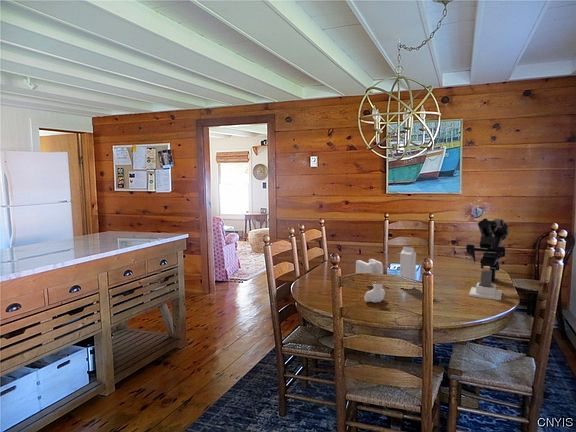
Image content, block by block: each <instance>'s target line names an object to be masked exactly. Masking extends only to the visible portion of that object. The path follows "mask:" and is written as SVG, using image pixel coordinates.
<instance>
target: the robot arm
mask: <svg viewBox="0 0 576 432" xmlns="http://www.w3.org/2000/svg"><path fill="white" fill-rule="evenodd" d="M477 227H478V230H479V232H480V241H479V247H478V246H476V245H475V244H471V243H468V244H466V247H465V250H466V251H465V252H466V254H467V255H469V256H471V259H472V261H473V264H476V254H475V253H476V252H483V255H482V257H480V258H481V259H480V268H481V270H482V269H483V267H484V266H490V270H492V272H491V282H495V281H497V280H499V278H496V271H500V263H499V260H500V259H502V258H505V257H506V247H505V246H501V244H502V241H504V240H506V239H507V237H508V236H509V235H510V229H509V225H507V223H505V221H504V220H503V219H500V218H495V219H493V220H488V218H482V220H480V221H478V222H477Z"/></svg>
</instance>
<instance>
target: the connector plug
mask: <svg viewBox="0 0 576 432" xmlns="http://www.w3.org/2000/svg"><path fill="white" fill-rule="evenodd" d="M491 272H492V270H490V266H484V267H483V269H481V274H480V283H481V286H482V287H491V284H492V281H491Z"/></svg>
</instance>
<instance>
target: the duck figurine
mask: <svg viewBox="0 0 576 432" xmlns="http://www.w3.org/2000/svg"><path fill="white" fill-rule="evenodd" d="M372 284H373V283H372ZM383 285H384V284H383ZM383 285H382V284H373V285H372V287H373V288H372V289H371V290H368V291H366V293H365V294H364V301H365V303H366V302H369V303H377V302H378V303H381V302H382V301H383V300H384V298H385V295H386V291H385V289H384V288H383V287H384V286H383Z"/></svg>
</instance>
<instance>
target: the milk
mask: <svg viewBox="0 0 576 432" xmlns="http://www.w3.org/2000/svg"><path fill="white" fill-rule="evenodd" d="M399 260H400V261H399V277H400V276H404V277H407V278H410V279H414V280H415V281H416V271H417V269H416V267H417V265H416V264H417V252H416V251H415V250H414V247H411V246H410V247H409V246H403V247H402V250H401V251H400V255H399Z"/></svg>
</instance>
